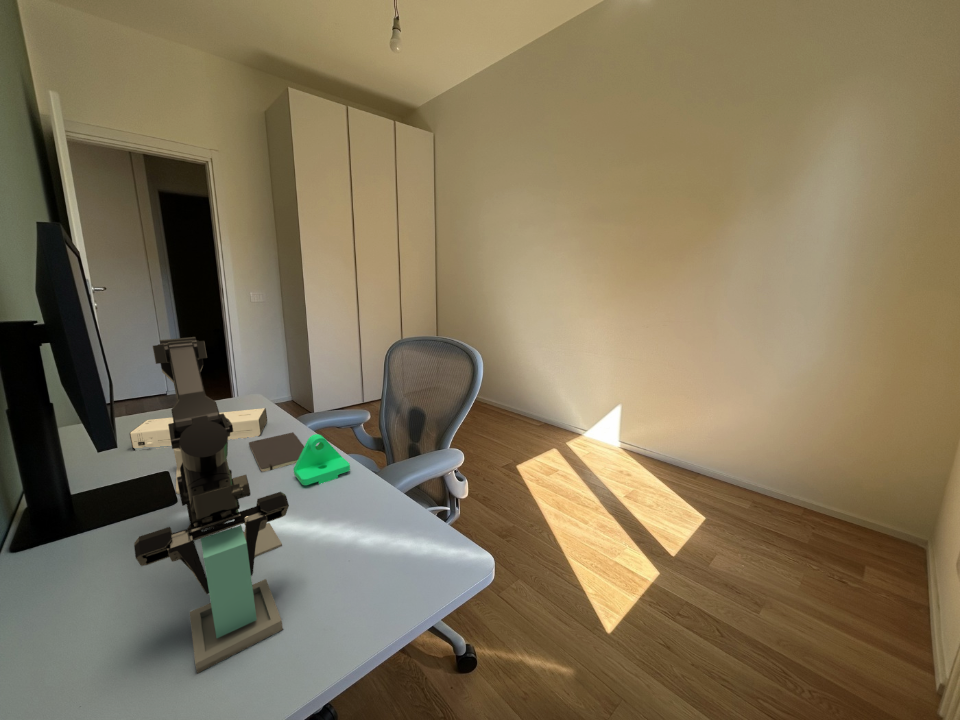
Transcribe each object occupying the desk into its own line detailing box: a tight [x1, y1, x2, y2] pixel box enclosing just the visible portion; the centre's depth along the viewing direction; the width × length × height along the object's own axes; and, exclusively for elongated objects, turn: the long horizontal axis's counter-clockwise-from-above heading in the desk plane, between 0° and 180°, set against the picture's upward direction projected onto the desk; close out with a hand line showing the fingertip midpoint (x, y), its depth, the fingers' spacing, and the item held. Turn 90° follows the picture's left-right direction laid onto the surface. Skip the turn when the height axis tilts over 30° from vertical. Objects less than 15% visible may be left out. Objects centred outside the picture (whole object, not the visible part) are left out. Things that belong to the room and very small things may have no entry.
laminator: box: [129, 407, 268, 449], centre depth 126 cm, size 34×12×6 cm, turn 108°
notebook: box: [248, 432, 305, 473], centre depth 116 cm, size 13×2×21 cm
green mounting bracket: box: [293, 433, 351, 486], centre depth 102 cm, size 12×8×10 cm, turn 130°
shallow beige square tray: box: [189, 578, 284, 674], centre depth 59 cm, size 10×10×2 cm
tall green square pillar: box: [200, 524, 257, 638], centre depth 57 cm, size 5×5×13 cm
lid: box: [243, 522, 283, 558], centre depth 77 cm, size 9×9×1 cm
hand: (230, 584), depth 56 cm, fingers closed on tall green square pillar, 5 cm apart
